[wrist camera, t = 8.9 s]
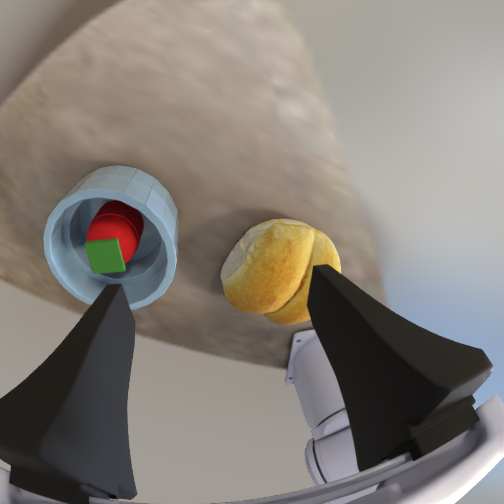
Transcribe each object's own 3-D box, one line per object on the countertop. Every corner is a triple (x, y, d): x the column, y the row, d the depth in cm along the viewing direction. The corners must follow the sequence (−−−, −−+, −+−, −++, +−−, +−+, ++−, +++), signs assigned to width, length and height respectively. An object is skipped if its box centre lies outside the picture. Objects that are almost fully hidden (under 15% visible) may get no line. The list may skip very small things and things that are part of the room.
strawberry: (147, 243, 19) (139, 280, 16) (102, 247, 18) (86, 284, 15) (139, 196, 17) (126, 227, 14) (91, 203, 16) (69, 234, 13)
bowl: (185, 263, 21) (184, 306, 17) (86, 272, 20) (70, 313, 16) (172, 155, 16) (165, 179, 13) (58, 174, 15) (26, 201, 12)
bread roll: (292, 316, 26) (304, 350, 23) (205, 281, 22) (208, 319, 19) (353, 249, 23) (376, 279, 20) (268, 194, 19) (285, 222, 16)
